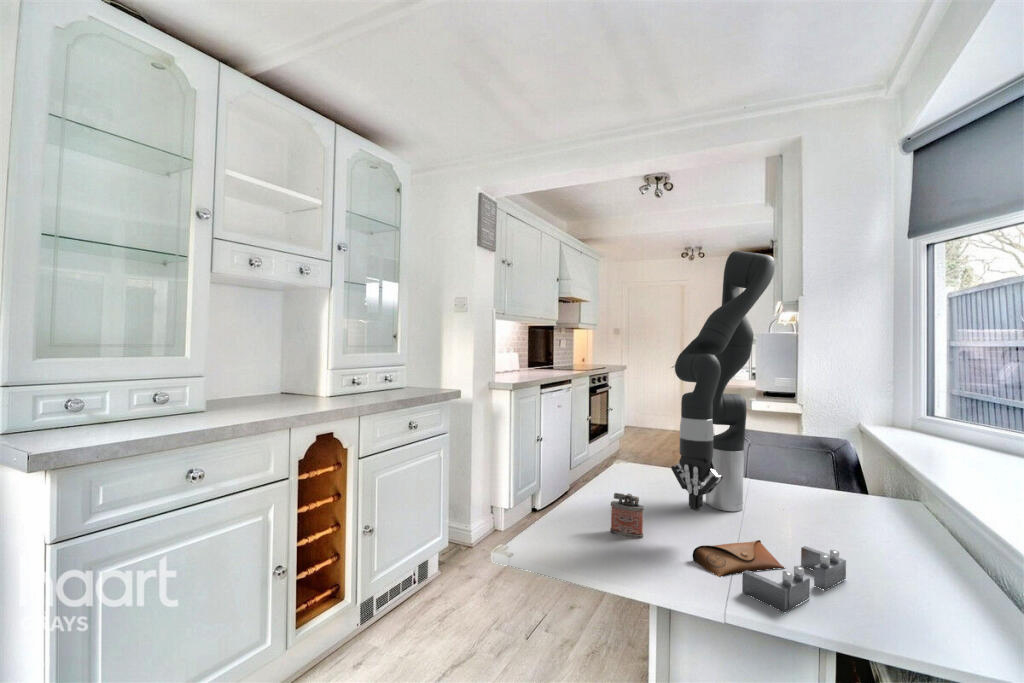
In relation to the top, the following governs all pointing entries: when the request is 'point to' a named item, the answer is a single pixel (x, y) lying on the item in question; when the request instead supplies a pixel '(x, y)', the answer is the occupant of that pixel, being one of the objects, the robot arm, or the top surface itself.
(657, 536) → the top surface
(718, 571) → the sunglasses case
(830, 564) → the bracket
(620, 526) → the lighter
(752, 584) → the bracket
